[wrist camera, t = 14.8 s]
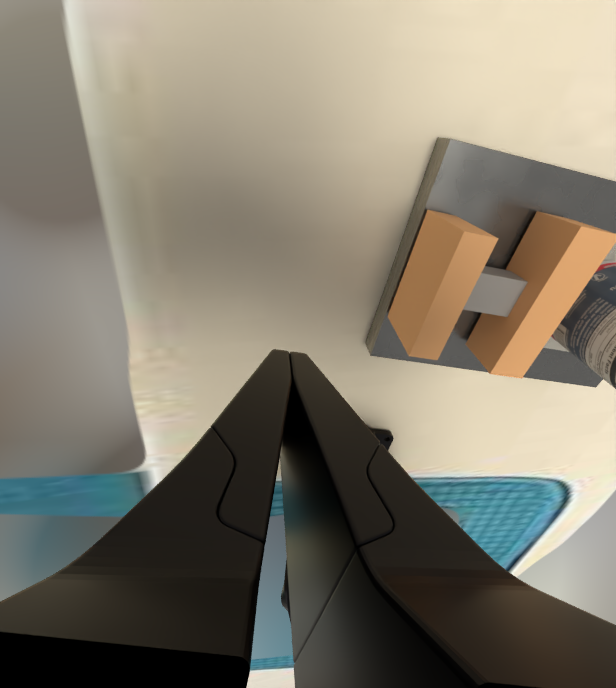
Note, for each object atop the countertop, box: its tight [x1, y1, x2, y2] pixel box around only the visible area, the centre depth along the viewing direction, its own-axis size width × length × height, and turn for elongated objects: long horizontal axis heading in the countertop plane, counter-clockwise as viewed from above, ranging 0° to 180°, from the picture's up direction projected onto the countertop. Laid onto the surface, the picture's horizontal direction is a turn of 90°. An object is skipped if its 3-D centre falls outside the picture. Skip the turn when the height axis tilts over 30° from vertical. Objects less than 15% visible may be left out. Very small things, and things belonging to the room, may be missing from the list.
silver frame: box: [366, 138, 616, 387], centre depth 19 cm, size 12×17×4 cm
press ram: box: [388, 210, 616, 378], centre depth 17 cm, size 8×8×4 cm
